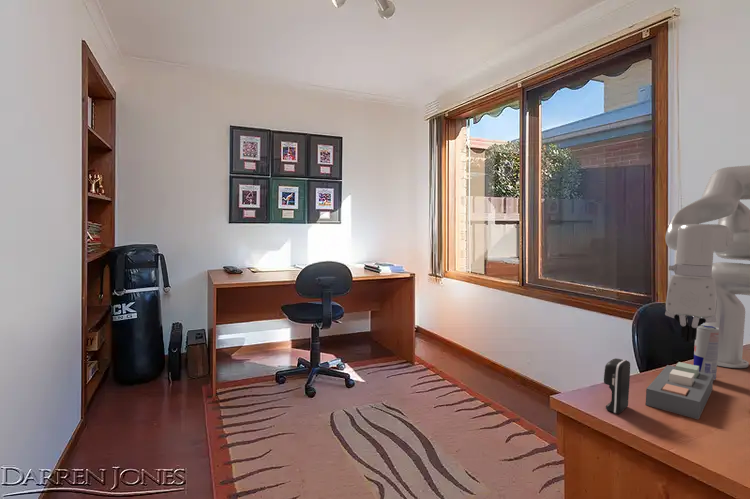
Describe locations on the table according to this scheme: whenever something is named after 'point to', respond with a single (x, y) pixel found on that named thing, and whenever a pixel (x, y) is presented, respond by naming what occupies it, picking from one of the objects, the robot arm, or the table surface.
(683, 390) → the terracotta button
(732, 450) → the table surface
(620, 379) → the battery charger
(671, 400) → the frame
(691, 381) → the cream button
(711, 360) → the beverage can
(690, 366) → the sage button
